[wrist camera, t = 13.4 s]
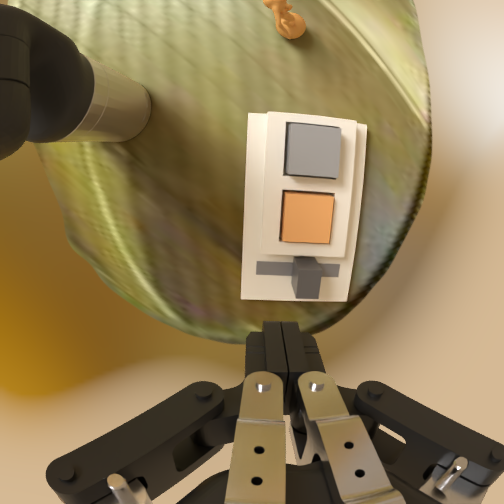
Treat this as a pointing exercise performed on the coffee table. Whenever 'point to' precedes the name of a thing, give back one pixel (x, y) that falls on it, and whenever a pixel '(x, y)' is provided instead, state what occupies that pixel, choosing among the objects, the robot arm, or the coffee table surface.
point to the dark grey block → (306, 277)
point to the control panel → (270, 209)
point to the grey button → (313, 150)
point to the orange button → (306, 217)
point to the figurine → (286, 19)
